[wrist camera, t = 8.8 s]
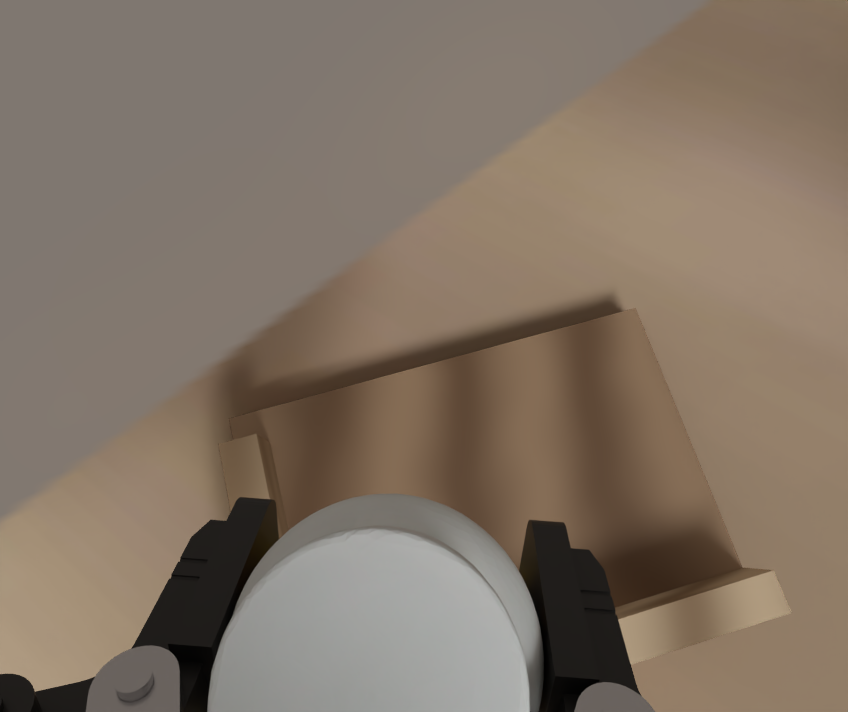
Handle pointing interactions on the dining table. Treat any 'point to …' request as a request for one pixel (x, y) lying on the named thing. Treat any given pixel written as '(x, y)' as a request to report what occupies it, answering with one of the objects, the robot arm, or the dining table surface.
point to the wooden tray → (529, 469)
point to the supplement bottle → (382, 618)
